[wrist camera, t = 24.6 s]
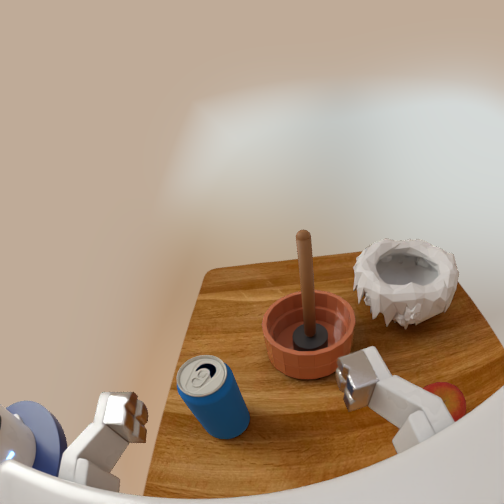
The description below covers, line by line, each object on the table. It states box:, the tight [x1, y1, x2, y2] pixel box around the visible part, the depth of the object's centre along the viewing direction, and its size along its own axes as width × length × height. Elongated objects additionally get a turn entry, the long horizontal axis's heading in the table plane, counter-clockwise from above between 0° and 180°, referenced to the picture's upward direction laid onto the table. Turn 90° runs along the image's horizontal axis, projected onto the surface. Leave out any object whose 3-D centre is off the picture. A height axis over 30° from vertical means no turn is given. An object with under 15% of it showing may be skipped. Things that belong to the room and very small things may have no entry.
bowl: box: [353, 238, 459, 329], centre depth 43 cm, size 21×20×10 cm
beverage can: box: [177, 355, 250, 439], centre depth 29 cm, size 6×6×12 cm
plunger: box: [292, 230, 328, 351], centre depth 37 cm, size 6×6×20 cm
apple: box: [423, 382, 466, 422], centre depth 22 cm, size 8×8×8 cm
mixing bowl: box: [262, 290, 355, 379], centre depth 40 cm, size 14×14×6 cm
